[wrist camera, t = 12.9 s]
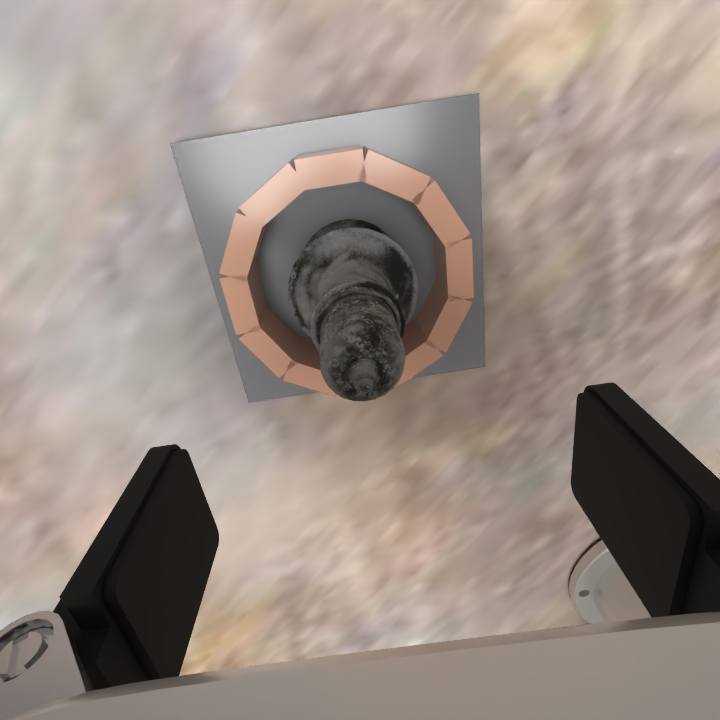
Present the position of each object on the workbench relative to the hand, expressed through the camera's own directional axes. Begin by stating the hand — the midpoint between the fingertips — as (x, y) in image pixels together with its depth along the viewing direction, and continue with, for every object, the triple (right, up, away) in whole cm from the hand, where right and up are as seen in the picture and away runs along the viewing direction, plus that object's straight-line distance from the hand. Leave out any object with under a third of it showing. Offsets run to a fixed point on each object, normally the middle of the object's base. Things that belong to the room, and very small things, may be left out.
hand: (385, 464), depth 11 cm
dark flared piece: (-1, +7, +13) cm, 15 cm away
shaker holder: (-1, +8, +14) cm, 16 cm away
